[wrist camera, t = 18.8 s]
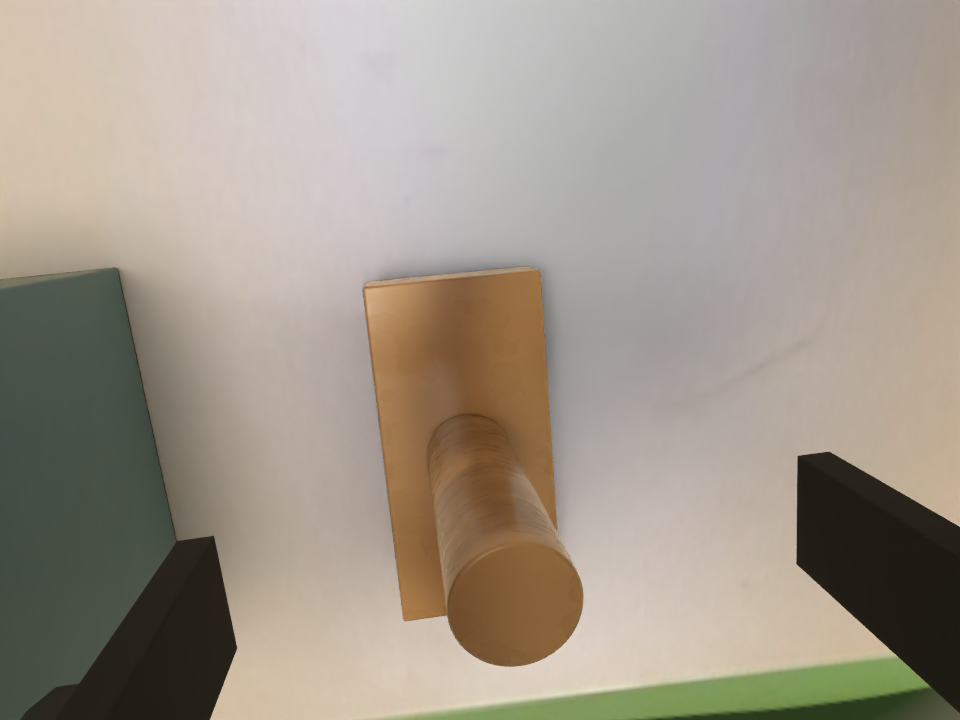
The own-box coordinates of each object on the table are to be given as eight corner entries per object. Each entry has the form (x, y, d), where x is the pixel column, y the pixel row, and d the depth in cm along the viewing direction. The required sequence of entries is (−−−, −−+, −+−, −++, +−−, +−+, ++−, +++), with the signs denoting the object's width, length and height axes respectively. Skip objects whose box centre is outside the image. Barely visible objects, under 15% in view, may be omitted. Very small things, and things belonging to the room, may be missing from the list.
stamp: (521, 262, 25) (642, 306, 13) (542, 553, 27) (658, 820, 15) (366, 277, 24) (337, 338, 12) (402, 573, 26) (408, 866, 15)
